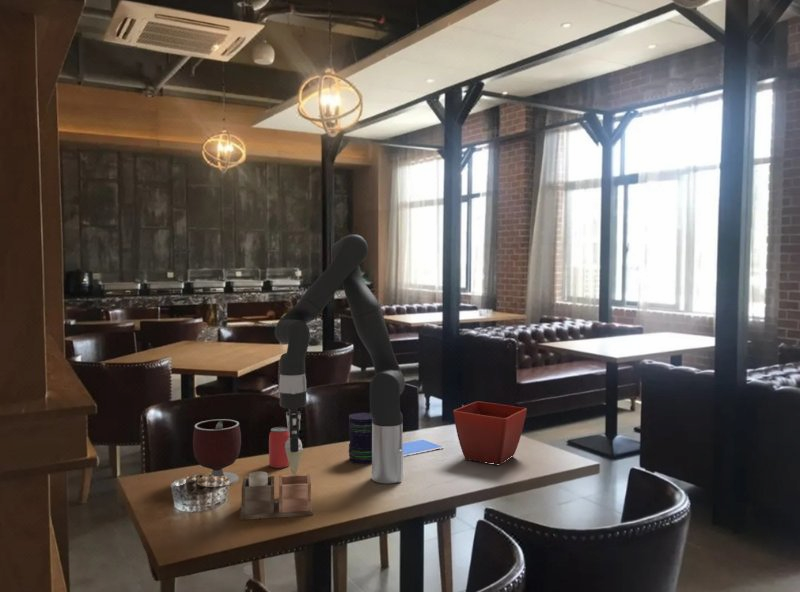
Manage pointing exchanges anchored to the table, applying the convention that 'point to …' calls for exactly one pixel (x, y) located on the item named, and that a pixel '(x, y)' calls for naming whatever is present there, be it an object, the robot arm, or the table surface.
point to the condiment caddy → (261, 496)
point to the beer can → (278, 447)
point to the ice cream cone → (293, 455)
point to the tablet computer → (418, 447)
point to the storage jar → (360, 438)
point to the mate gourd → (217, 445)
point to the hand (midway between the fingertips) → (293, 448)
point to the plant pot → (489, 430)
